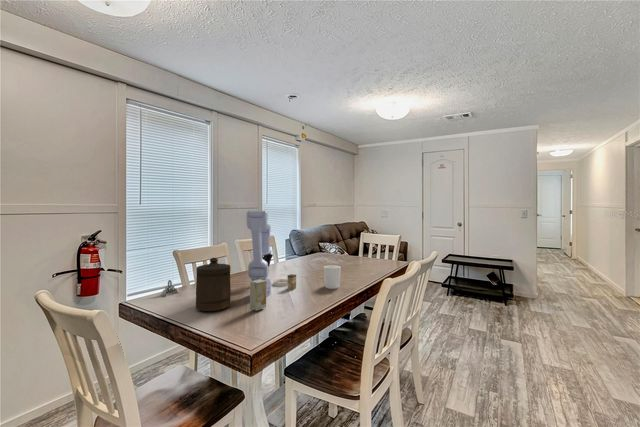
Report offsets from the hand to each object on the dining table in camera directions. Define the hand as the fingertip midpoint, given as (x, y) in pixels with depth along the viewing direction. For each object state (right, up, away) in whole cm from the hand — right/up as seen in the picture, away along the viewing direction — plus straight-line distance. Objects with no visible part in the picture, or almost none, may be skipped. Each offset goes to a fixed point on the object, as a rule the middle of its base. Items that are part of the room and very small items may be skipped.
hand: (264, 267), depth 172 cm
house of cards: (-48, -11, -17) cm, 52 cm away
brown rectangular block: (+17, -11, -9) cm, 22 cm away
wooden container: (-16, -11, -38) cm, 42 cm away
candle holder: (+39, -11, -5) cm, 41 cm away
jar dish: (+10, -10, +1) cm, 14 cm away
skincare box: (+5, -11, -41) cm, 43 cm away
